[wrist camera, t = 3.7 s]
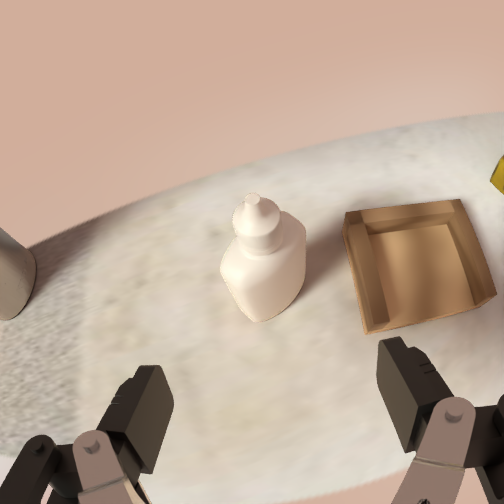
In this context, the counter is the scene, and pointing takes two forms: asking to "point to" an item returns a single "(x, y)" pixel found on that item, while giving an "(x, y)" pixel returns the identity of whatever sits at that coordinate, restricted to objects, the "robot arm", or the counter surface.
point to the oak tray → (415, 263)
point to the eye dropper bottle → (264, 258)
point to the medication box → (499, 176)
